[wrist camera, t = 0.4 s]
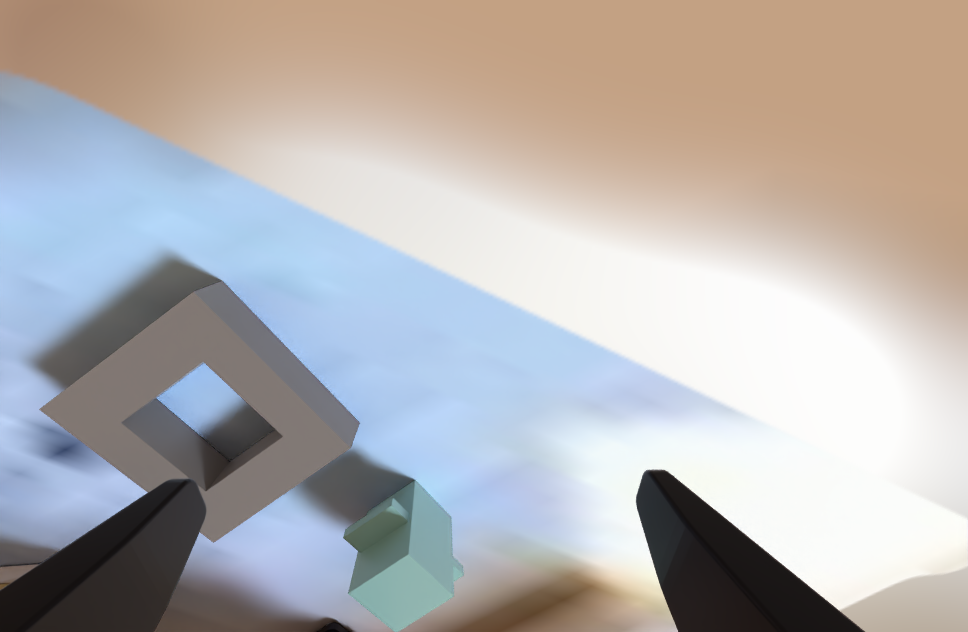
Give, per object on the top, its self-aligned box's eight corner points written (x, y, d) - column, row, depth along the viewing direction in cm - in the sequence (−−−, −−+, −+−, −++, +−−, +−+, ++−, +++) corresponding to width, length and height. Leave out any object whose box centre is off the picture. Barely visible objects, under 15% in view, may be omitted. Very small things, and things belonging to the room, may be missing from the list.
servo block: (418, 559, 27) (412, 646, 22) (352, 497, 25) (328, 577, 20) (463, 529, 27) (469, 611, 22) (400, 464, 25) (390, 537, 20)
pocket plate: (235, 509, 24) (213, 542, 22) (84, 385, 21) (38, 409, 19) (359, 423, 24) (350, 448, 21) (222, 280, 20) (193, 291, 18)
